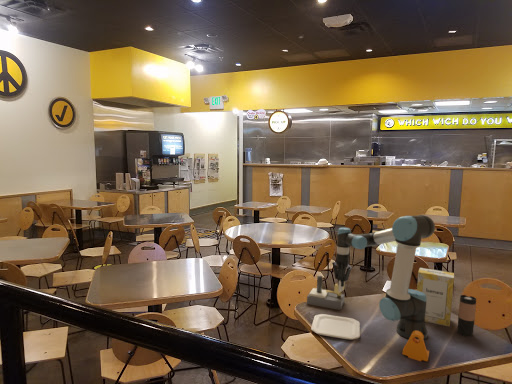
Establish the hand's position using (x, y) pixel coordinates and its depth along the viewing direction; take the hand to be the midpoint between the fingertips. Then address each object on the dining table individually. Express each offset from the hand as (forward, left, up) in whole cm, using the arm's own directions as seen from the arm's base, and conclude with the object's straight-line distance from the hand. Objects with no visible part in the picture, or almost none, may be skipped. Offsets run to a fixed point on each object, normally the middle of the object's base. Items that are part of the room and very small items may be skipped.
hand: (340, 291), depth 224 cm
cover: (+4, +14, -6) cm, 15 cm away
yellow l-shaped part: (+5, +5, -6) cm, 9 cm away
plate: (-29, -2, -11) cm, 31 cm away
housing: (+4, +9, -11) cm, 15 cm away
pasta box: (+8, -52, -11) cm, 54 cm away
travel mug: (-4, -67, -11) cm, 68 cm away
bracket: (-41, -41, -11) cm, 59 cm away
